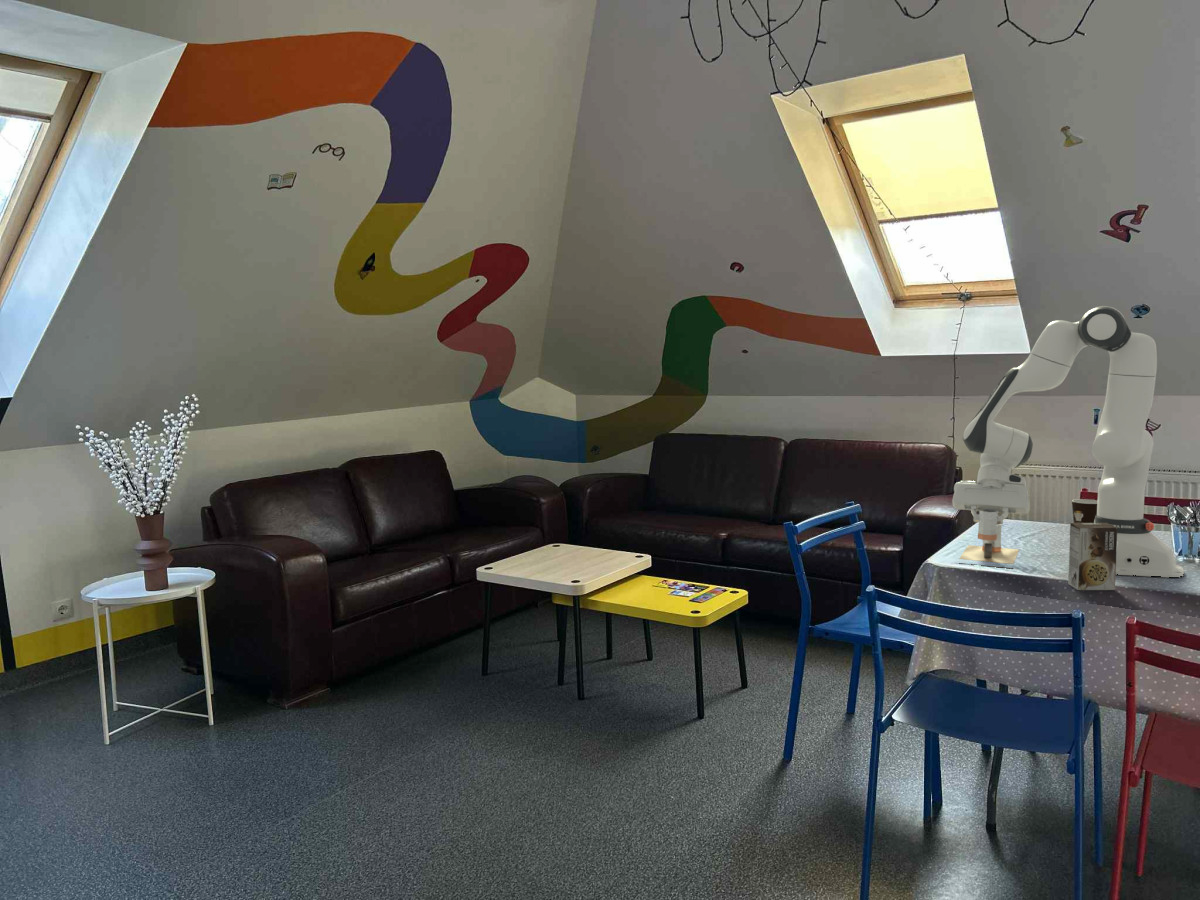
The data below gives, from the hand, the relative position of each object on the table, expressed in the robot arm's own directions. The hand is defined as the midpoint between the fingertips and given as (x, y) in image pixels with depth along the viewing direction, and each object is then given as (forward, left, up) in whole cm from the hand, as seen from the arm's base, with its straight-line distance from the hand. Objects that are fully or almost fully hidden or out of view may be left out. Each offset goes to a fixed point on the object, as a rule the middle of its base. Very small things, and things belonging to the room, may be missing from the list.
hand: (987, 522), depth 255 cm
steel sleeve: (0, -1, -5) cm, 5 cm away
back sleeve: (0, -11, -10) cm, 15 cm away
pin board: (0, -6, -12) cm, 13 cm away
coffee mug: (-24, -60, -12) cm, 65 cm away
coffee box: (-26, +16, -12) cm, 33 cm away
